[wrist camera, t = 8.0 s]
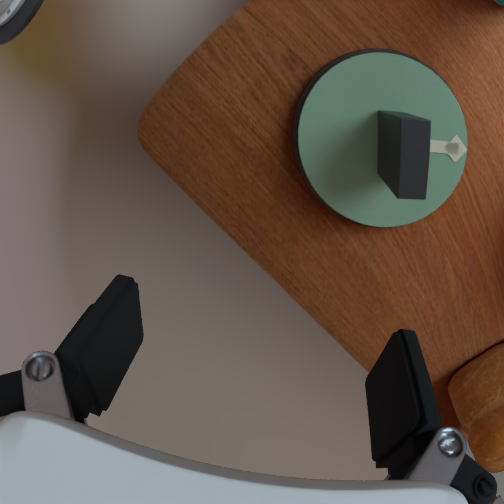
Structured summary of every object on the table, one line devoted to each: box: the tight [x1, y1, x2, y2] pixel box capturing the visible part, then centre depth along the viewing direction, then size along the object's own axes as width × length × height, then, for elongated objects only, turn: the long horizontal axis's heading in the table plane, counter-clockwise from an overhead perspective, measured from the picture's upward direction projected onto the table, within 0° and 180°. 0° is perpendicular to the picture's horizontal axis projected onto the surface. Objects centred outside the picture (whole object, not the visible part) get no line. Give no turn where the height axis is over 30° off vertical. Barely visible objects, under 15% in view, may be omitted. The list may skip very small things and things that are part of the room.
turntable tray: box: [298, 52, 467, 227], centre depth 23 cm, size 17×17×8 cm
